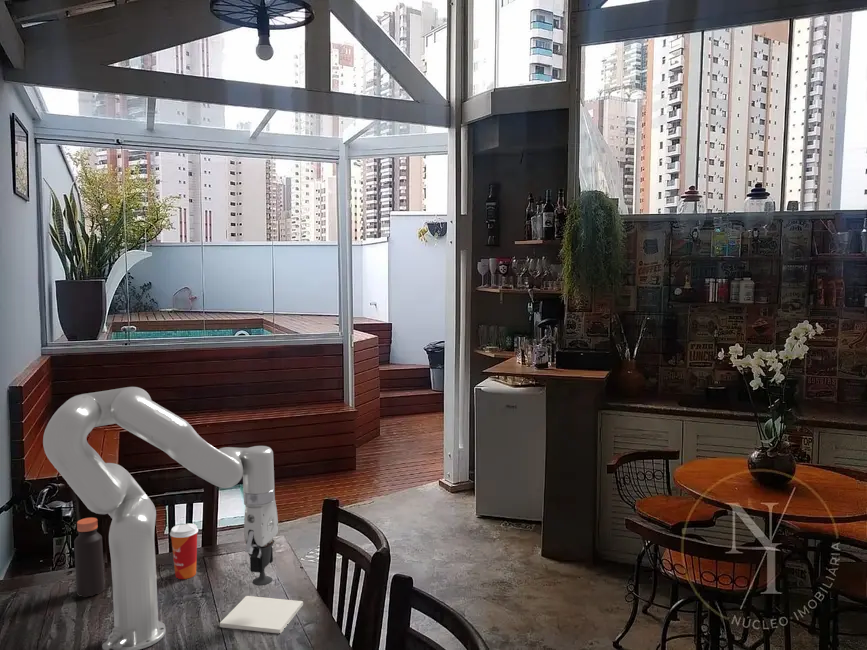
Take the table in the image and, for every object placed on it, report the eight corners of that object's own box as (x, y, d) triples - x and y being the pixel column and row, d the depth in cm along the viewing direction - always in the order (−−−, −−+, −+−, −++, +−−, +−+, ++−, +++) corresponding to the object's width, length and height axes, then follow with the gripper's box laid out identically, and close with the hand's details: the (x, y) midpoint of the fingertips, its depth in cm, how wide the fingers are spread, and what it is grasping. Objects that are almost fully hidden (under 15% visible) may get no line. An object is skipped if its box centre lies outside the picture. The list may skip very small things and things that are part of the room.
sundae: (279, 575, 171) (277, 518, 169) (270, 587, 164) (268, 529, 163) (254, 574, 171) (252, 518, 170) (244, 587, 165) (242, 528, 163)
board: (280, 633, 160) (280, 629, 160) (219, 627, 163) (219, 623, 163) (303, 604, 174) (303, 601, 174) (246, 599, 177) (246, 595, 177)
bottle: (103, 595, 180) (99, 523, 178) (75, 599, 177) (71, 527, 176) (105, 584, 186) (102, 514, 184) (78, 588, 184) (74, 518, 182)
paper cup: (170, 572, 193) (168, 525, 192) (198, 567, 196) (196, 521, 195) (172, 583, 186) (170, 535, 185) (201, 578, 189) (199, 530, 188)
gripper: (257, 509, 157) (260, 583, 158) (287, 486, 173) (289, 553, 175) (228, 507, 158) (231, 581, 160) (260, 484, 175) (263, 551, 176)
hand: (261, 566), depth 167 cm, fingers closed on sundae, 4 cm apart
